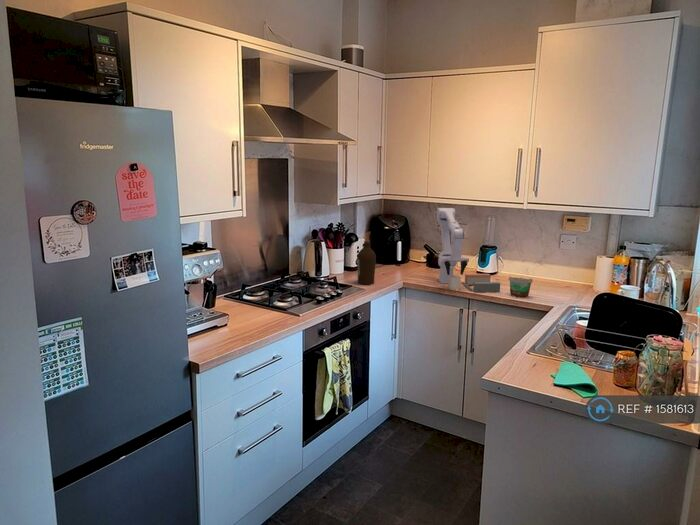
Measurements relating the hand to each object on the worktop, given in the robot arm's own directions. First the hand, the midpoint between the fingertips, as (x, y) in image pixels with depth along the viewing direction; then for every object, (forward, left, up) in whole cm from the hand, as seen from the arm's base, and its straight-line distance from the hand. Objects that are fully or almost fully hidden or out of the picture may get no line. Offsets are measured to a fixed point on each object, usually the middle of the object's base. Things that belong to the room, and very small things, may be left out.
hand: (454, 274), depth 284 cm
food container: (+17, +30, -8) cm, 35 cm away
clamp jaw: (-7, +16, -8) cm, 19 cm away
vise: (-1, +16, -8) cm, 18 cm away
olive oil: (-14, -48, -8) cm, 51 cm away
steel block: (0, 0, -8) cm, 8 cm away
